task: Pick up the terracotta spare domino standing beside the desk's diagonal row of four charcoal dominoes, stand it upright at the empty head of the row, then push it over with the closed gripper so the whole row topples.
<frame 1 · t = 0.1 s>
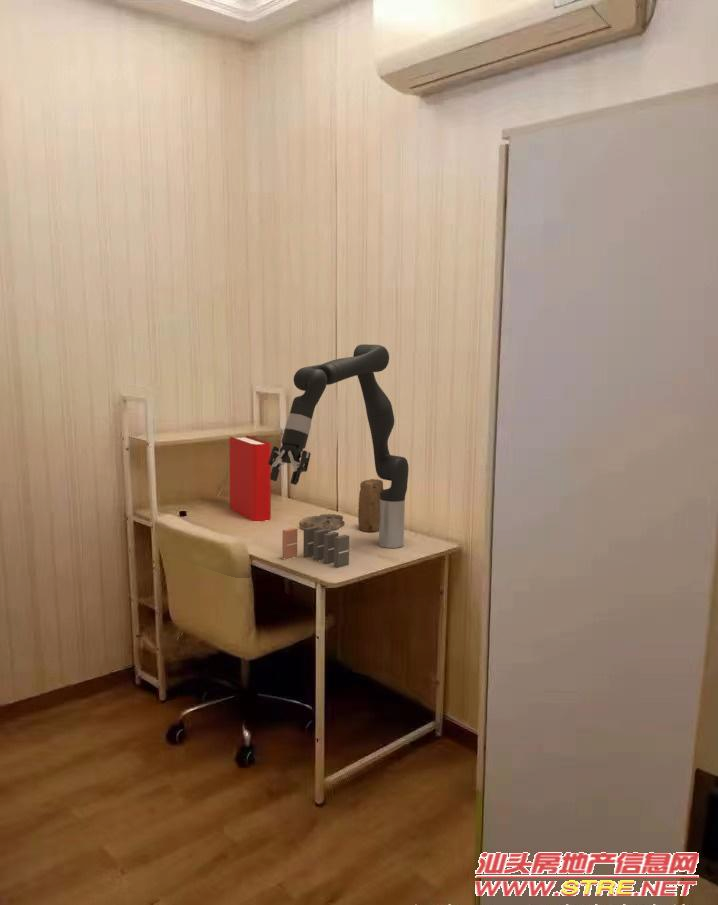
hand: (283, 482, 221), 31 cm above the table, tool tilted 20°, fingers open, 8 cm apart
domino 3: (320, 559, 251), on the table
book: (250, 514, 313), on the table
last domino: (341, 565, 244), on the table
domino 2: (310, 555, 254), on the table
domino 4: (330, 562, 247), on the table
spare domino: (289, 557, 251), on the table
block: (372, 530, 291), on the table
flat rock: (324, 528, 294), on the table
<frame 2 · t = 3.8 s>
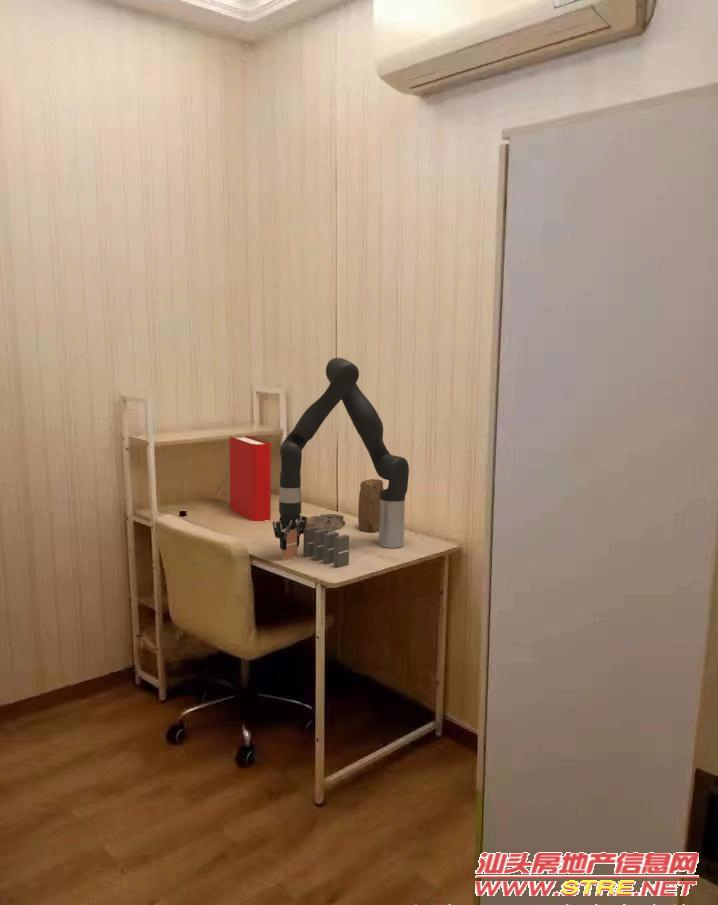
hand: (289, 548, 251), 3 cm above the table, tool pointing down, fingers closed on spare domino, 5 cm apart
spare domino: (289, 557, 251), on the table, touching gripper
everything else where it was.
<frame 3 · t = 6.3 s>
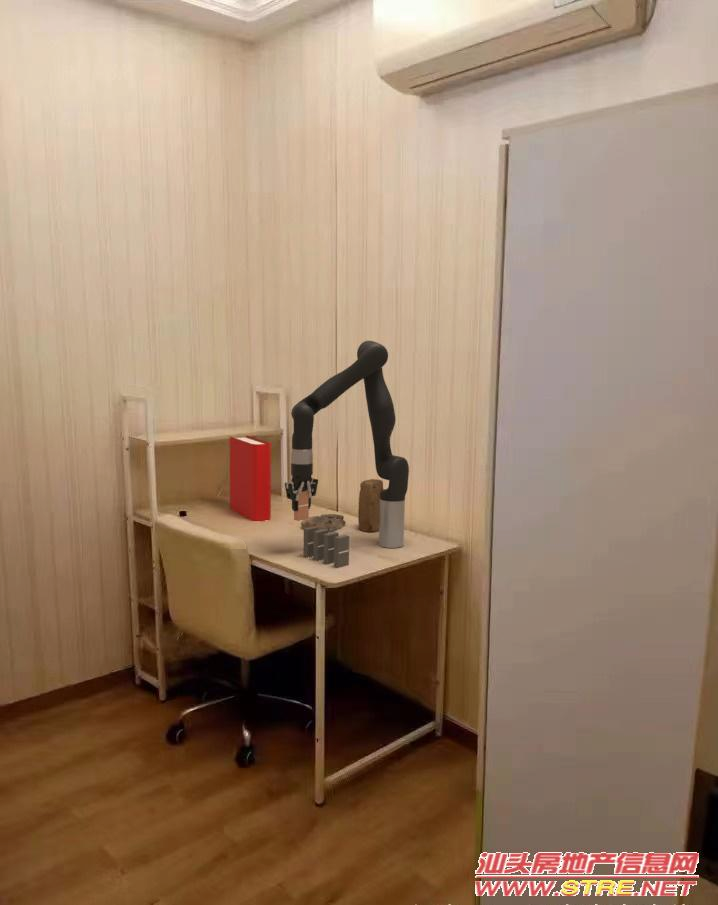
hand: (301, 509, 255), 16 cm above the table, tool pointing down, fingers closed on spare domino, 5 cm apart
spare domino: (301, 519, 255), point 12 cm above the table, touching gripper
everything else where it was.
when the fingers open (4 cm above the table, at t = 9.2 s): spare domino stays where it is, on the table.
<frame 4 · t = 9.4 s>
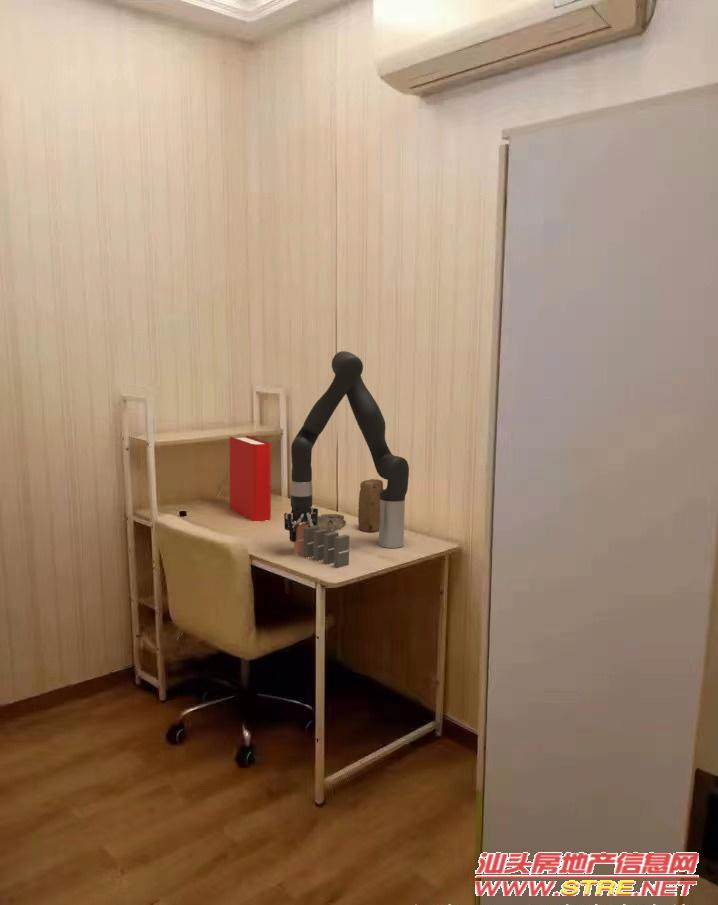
hand: (301, 539, 257), 5 cm above the table, tool pointing down, fingers open, 7 cm apart
spare domino: (301, 552, 257), on the table
everything else where it was.
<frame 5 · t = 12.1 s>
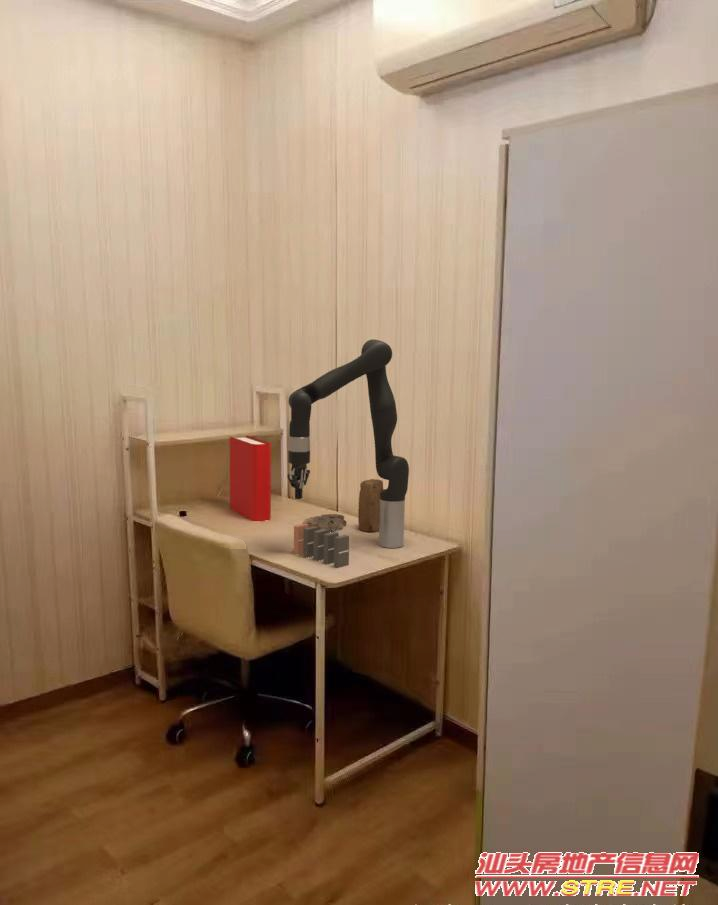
hand: (298, 498, 255), 19 cm above the table, tool pointing down, fingers closed
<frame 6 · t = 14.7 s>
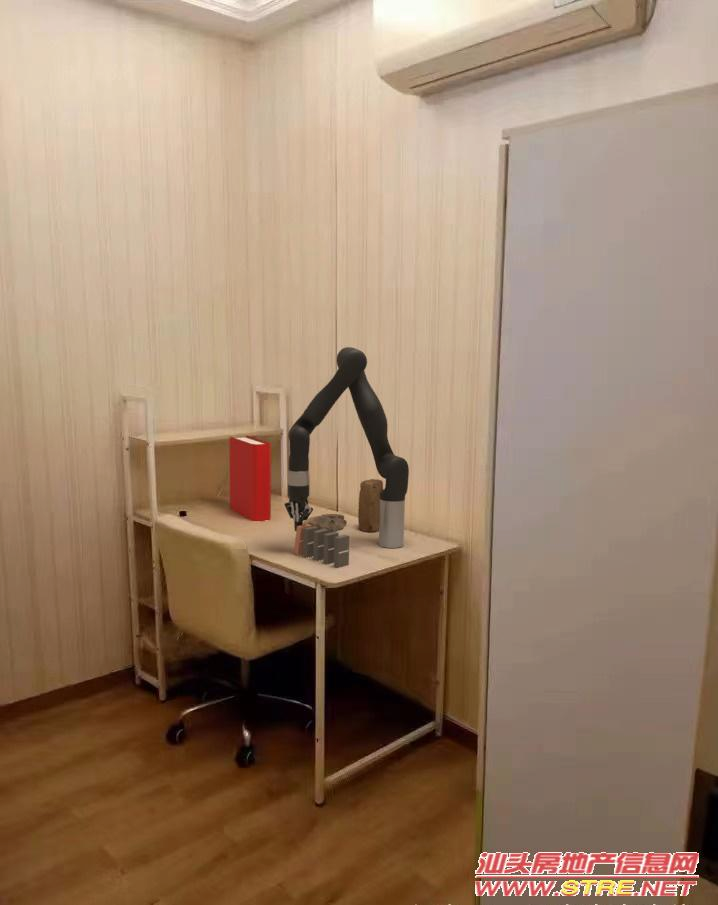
hand: (298, 531, 258), 7 cm above the table, tool pointing down, fingers closed
spare domino: (301, 552, 257), on the table, tilted 9°
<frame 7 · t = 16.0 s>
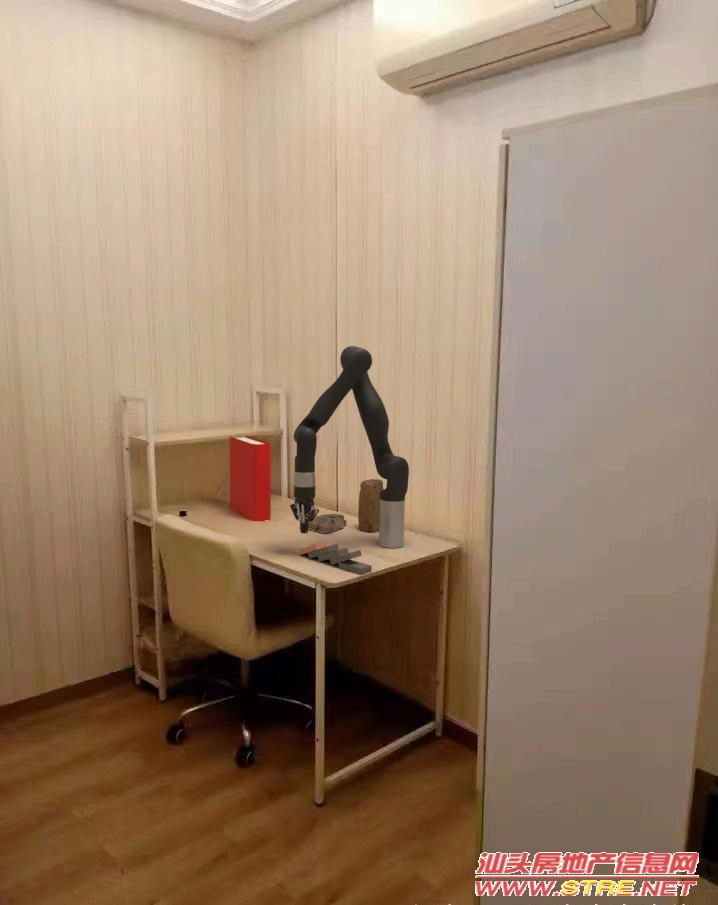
hand: (304, 532, 255), 8 cm above the table, tool pointing down, fingers closed
domino 3: (323, 557, 250), point 1 cm above the table, tilted 66°, touching domino 2
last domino: (343, 563, 243), point 1 cm above the table, tilted 89°, touching domino 4
domino 2: (313, 554, 253), point 1 cm above the table, tilted 65°, touching domino 3, spare domino
domino 4: (335, 560, 245), point 1 cm above the table, tilted 66°, touching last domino
spare domino: (303, 551, 256), point 1 cm above the table, tilted 66°, touching domino 2
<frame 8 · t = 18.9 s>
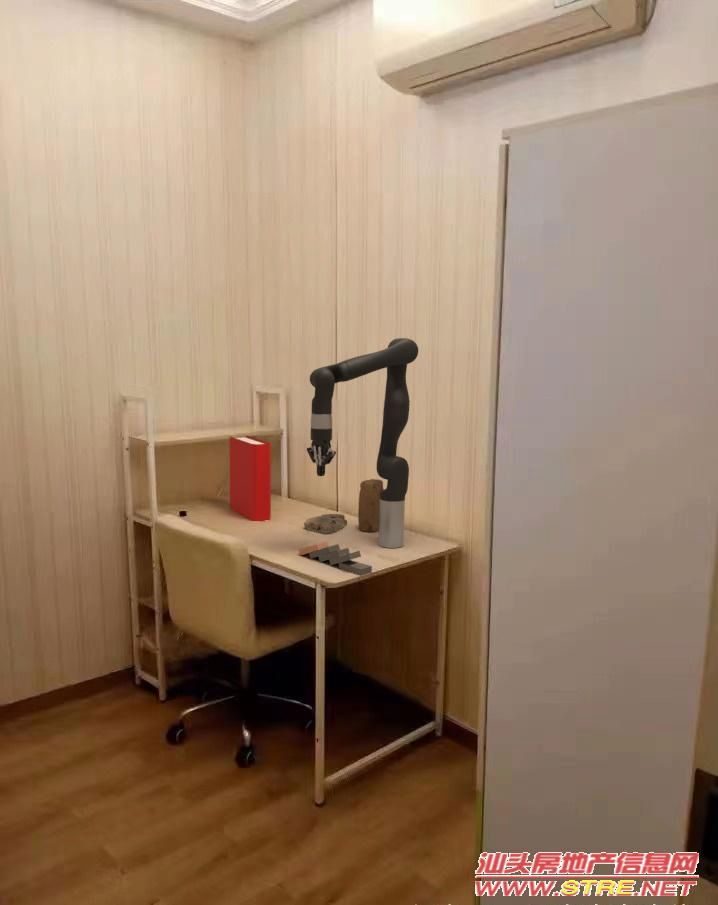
hand: (320, 475, 257), 27 cm above the table, tool pointing down, fingers closed
domino 3: (324, 557, 249), point 1 cm above the table, tilted 66°, touching domino 2, domino 4
domino 4: (335, 560, 245), point 1 cm above the table, tilted 66°, touching domino 3, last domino
at the end: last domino tilted 89°; spare domino tilted 66°; spare domino inside the target area (1.8 cm from its centre), point 0.9 cm above the table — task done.
